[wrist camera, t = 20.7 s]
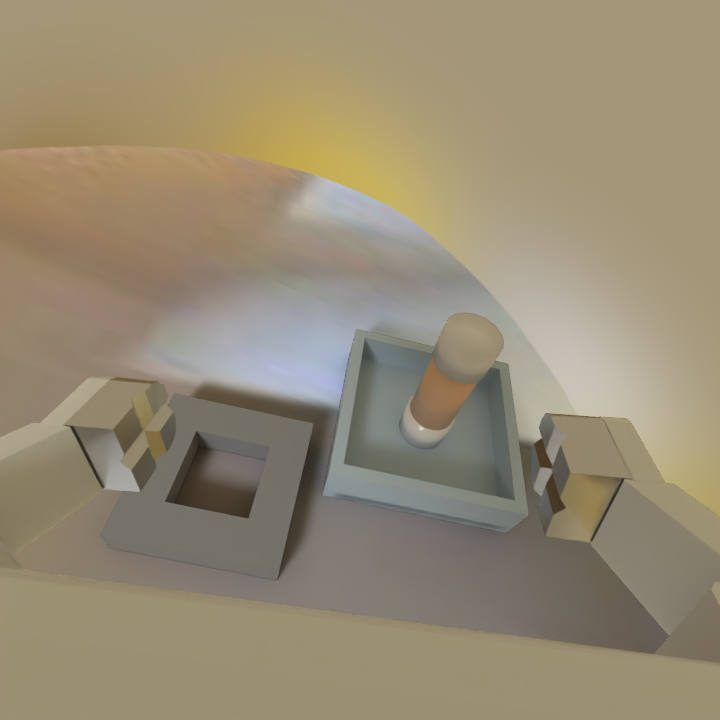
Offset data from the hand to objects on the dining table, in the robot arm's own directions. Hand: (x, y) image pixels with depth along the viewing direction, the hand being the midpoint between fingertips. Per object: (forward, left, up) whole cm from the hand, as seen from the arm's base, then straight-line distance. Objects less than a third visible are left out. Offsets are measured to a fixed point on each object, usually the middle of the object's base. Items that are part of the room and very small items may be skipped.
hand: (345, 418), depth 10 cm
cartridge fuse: (-9, -18, -26) cm, 33 cm away
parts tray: (-9, -18, -27) cm, 34 cm away
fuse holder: (+7, -9, -27) cm, 29 cm away
